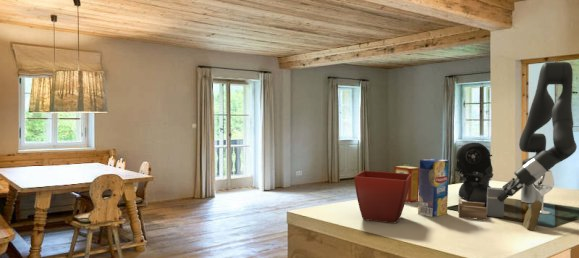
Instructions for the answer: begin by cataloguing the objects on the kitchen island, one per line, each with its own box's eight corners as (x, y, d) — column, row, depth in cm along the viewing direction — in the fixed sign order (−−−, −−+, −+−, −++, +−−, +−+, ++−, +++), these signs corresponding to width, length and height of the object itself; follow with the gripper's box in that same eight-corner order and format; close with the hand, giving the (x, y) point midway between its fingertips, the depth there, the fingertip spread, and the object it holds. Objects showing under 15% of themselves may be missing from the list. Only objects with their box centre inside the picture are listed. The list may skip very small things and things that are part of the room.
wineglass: (556, 215, 186) (558, 172, 185) (534, 213, 187) (536, 171, 187) (548, 211, 194) (550, 169, 193) (528, 209, 195) (530, 169, 195)
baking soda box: (393, 198, 213) (394, 165, 213) (402, 197, 217) (403, 165, 217) (409, 202, 206) (410, 167, 205) (418, 201, 210) (419, 167, 209)
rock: (541, 226, 154) (555, 219, 160) (526, 204, 158) (539, 198, 164) (517, 238, 162) (531, 231, 168) (503, 217, 166) (516, 211, 171)
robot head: (512, 205, 202) (502, 141, 201) (474, 211, 202) (464, 147, 202) (484, 193, 232) (475, 138, 231) (451, 199, 232) (442, 143, 232)
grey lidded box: (486, 213, 186) (487, 187, 185) (502, 214, 184) (503, 188, 183) (487, 215, 181) (488, 188, 181) (503, 217, 179) (504, 190, 179)
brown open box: (458, 211, 188) (458, 198, 188) (483, 213, 184) (484, 200, 184) (458, 217, 177) (459, 203, 176) (486, 219, 173) (486, 205, 173)
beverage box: (447, 213, 183) (449, 160, 182) (433, 217, 175) (435, 161, 175) (432, 210, 188) (433, 158, 187) (417, 213, 181) (419, 159, 180)
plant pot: (405, 226, 158) (406, 179, 158) (352, 221, 165) (353, 175, 165) (410, 216, 176) (411, 173, 176) (362, 211, 183) (363, 170, 183)
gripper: (520, 163, 185) (489, 189, 189) (526, 167, 172) (492, 194, 176) (534, 177, 183) (502, 202, 188) (541, 181, 170) (507, 208, 174)
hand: (497, 198), depth 182 cm, fingers open, 8 cm apart
